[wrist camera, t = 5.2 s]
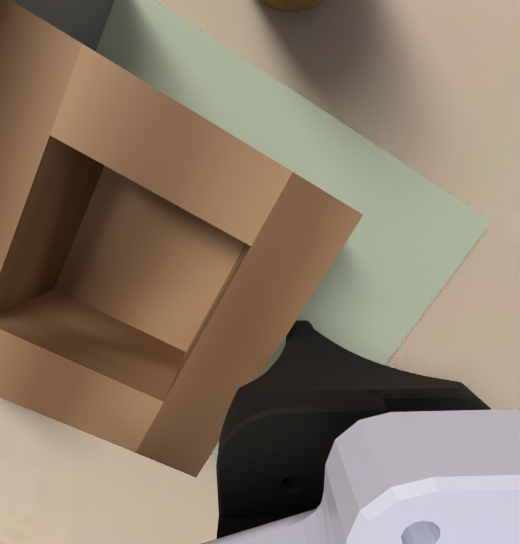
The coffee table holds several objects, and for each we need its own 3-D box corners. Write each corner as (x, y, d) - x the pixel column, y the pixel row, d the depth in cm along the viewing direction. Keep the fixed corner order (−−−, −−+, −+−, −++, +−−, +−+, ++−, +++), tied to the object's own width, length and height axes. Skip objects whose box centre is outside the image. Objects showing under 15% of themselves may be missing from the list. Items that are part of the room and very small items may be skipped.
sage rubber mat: (484, 220, 12) (492, 221, 12) (292, 481, 16) (293, 487, 15) (52, -63, 10) (43, -74, 9) (-70, 324, 13) (-81, 329, 12)
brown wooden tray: (326, 209, 12) (363, 214, 8) (212, 397, 14) (196, 477, 10) (88, 66, 10) (-15, -16, 6) (1, 301, 12) (-117, 349, 8)
